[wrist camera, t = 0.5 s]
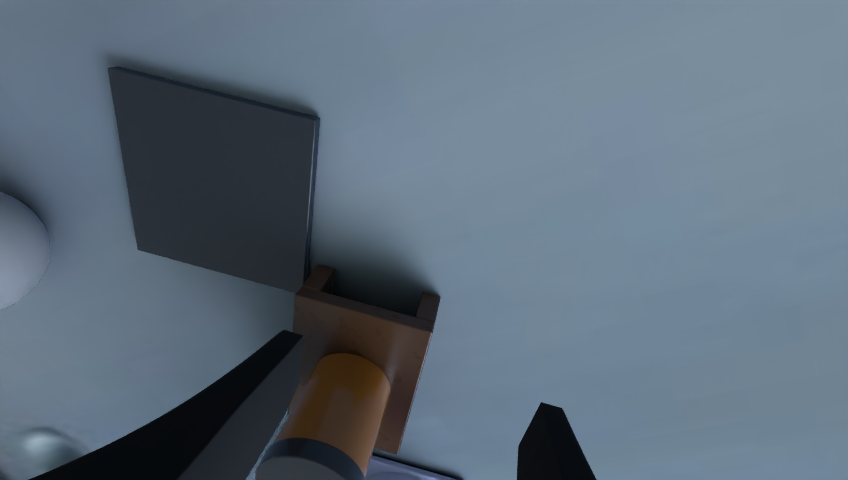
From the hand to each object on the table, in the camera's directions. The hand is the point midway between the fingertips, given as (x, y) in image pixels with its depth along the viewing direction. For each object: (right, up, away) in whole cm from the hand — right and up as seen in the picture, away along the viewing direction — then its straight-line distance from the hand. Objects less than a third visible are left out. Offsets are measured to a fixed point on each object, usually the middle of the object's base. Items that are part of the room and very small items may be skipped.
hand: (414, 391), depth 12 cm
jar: (-4, -3, +10) cm, 11 cm away
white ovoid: (-25, +6, +13) cm, 29 cm away
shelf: (-3, -2, +13) cm, 13 cm away
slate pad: (-10, +7, +9) cm, 16 cm away
